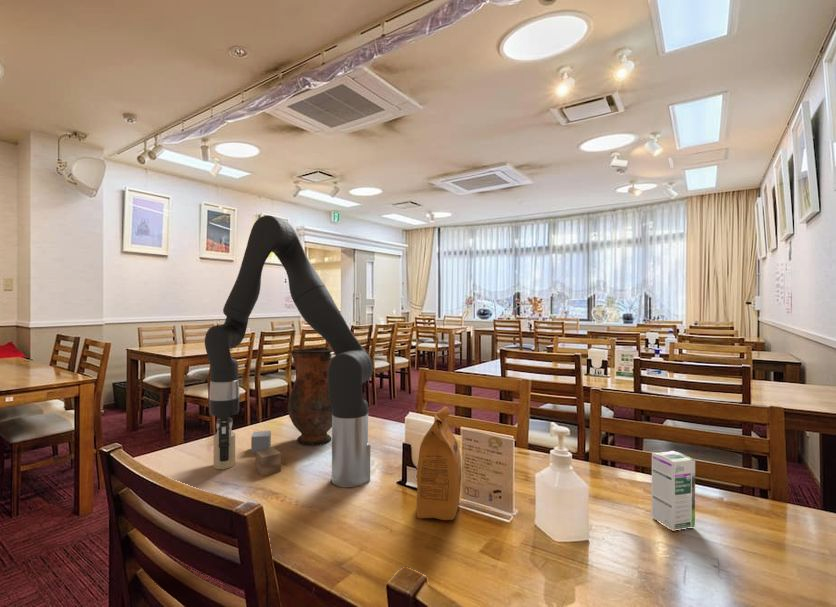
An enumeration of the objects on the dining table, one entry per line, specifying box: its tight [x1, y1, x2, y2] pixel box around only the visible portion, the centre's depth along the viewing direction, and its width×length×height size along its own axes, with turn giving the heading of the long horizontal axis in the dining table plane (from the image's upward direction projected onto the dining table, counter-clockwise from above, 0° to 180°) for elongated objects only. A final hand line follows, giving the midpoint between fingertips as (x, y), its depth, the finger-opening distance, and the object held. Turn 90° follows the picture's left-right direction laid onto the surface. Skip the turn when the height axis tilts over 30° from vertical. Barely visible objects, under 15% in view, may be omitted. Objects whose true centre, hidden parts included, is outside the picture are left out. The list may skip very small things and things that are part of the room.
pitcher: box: [287, 347, 336, 446], centre depth 137 cm, size 17×21×30 cm
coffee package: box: [415, 406, 462, 521], centre depth 94 cm, size 10×12×22 cm
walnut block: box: [255, 447, 282, 477], centre depth 114 cm, size 5×5×5 cm
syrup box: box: [651, 450, 696, 530], centre depth 89 cm, size 6×6×14 cm
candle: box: [213, 430, 236, 470], centre depth 117 cm, size 6×6×10 cm
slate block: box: [250, 430, 272, 454], centre depth 129 cm, size 5×5×5 cm
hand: (224, 456), depth 117 cm, fingers closed on candle, 5 cm apart
